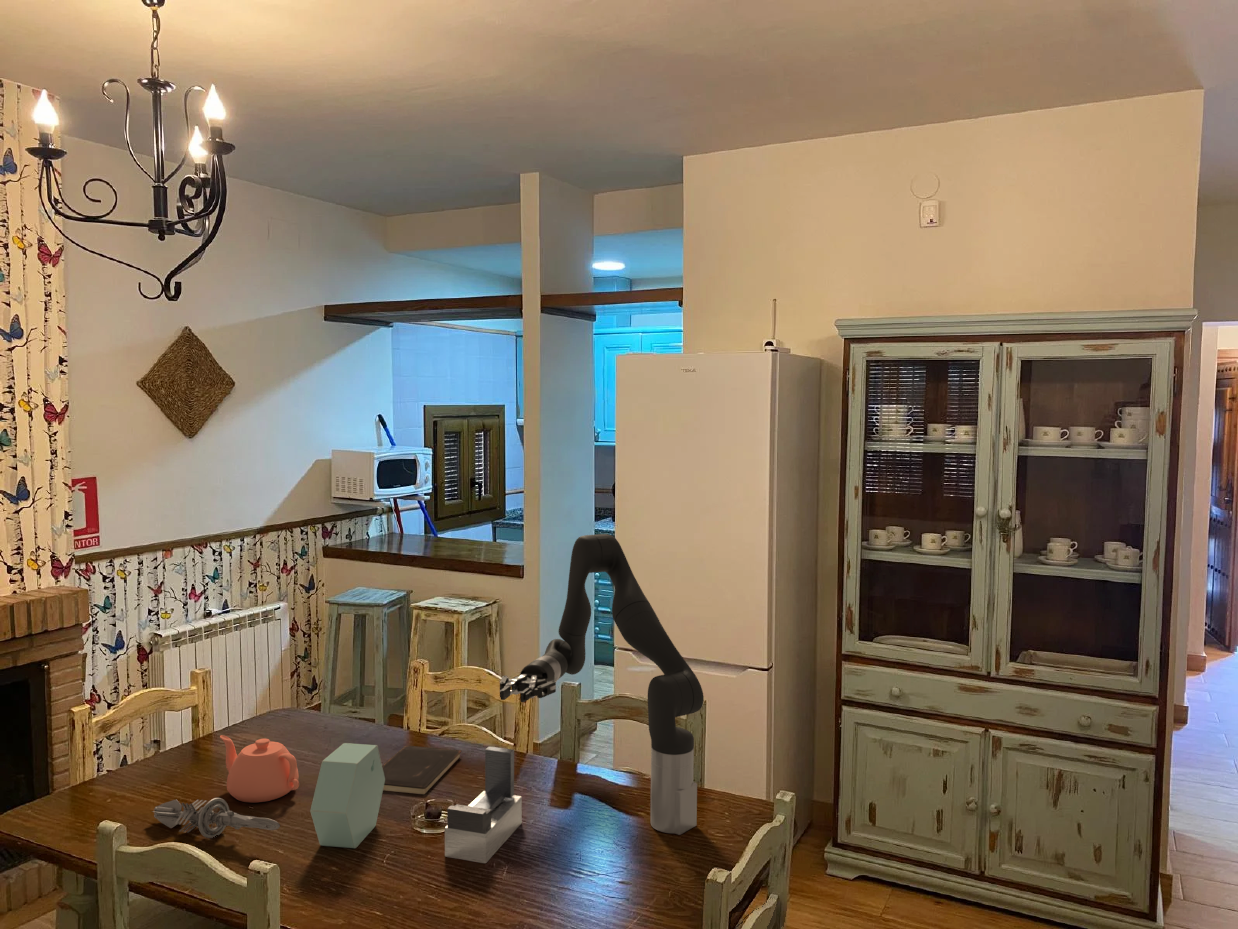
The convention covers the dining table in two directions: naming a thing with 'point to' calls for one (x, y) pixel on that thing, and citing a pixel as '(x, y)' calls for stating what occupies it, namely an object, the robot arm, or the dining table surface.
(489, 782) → the dark grey tapered block
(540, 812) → the dining table surface
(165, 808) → the spaceship
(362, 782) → the mint hexagonal prism
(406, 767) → the hardcover book
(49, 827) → the dining table surface
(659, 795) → the robot arm
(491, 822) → the white rectangular holder
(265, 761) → the teapot
